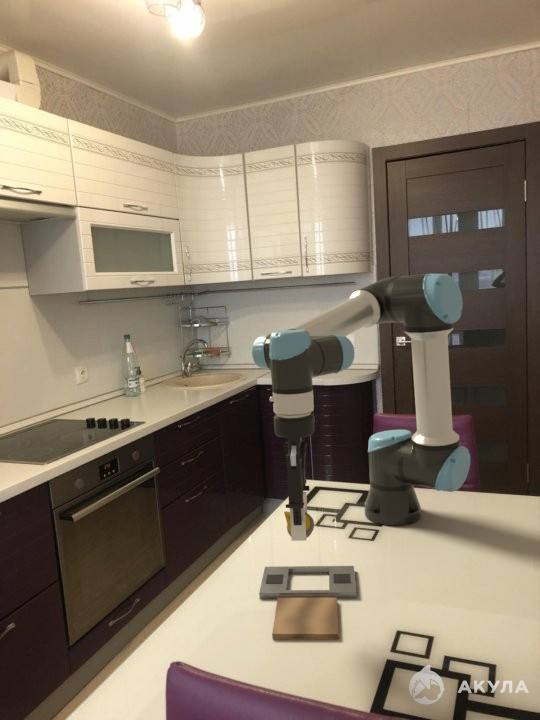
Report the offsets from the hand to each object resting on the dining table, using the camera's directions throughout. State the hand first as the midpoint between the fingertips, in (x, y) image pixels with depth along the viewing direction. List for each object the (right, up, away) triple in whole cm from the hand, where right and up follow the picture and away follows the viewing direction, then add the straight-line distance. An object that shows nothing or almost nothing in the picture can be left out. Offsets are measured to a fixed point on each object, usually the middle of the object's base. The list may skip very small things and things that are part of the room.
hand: (300, 531), depth 107 cm
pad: (+1, -17, +1) cm, 17 cm away
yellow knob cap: (0, -2, 0) cm, 2 cm away
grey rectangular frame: (+3, -16, +14) cm, 21 cm away
